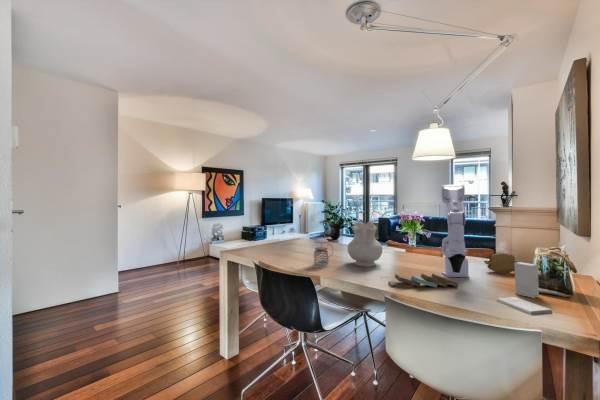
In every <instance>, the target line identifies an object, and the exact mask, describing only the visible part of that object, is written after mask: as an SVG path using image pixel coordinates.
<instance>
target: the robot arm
mask: <svg viewBox="0 0 600 400" xmlns="http://www.w3.org/2000/svg"><path fill="white" fill-rule="evenodd" d="M464 197H465V185H464V184H463V183H462V184H442V185H441V200H442V203H444V204H445V205H446V208H447V214H446V220H447V221H446V222H447V236H446V237H443V239H442V240H441V241H442V243H441V254H442V255H443V256H444V271H441V273H442V274H443V275H445V276H447V278H470V276H469V260H468V258H467V257H466V254H468V248H466V243H465V225H466V212H465V210H463V202H464Z"/></svg>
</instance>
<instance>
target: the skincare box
mask: <svg viewBox="0 0 600 400" xmlns="http://www.w3.org/2000/svg"><path fill="white" fill-rule="evenodd" d="M516 262H517V263H514V267H515V272H514V282H515V283H514V285H515V286H514V288H515V295H519V296H522V297H526V296H527V298H530V297H531V298H532V299H536V298H535V297H537V298H539V296H540V294H539V292H540V289H539V268H538V267H539V266H538V264H534V263H529V262H528V263H527V262H521V261H516Z"/></svg>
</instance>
